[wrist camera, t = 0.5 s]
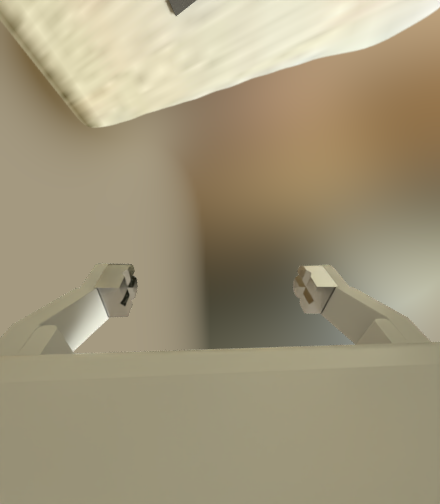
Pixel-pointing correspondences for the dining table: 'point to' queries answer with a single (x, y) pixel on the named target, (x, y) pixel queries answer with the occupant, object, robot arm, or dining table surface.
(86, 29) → the dining table surface
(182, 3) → the mount plate
